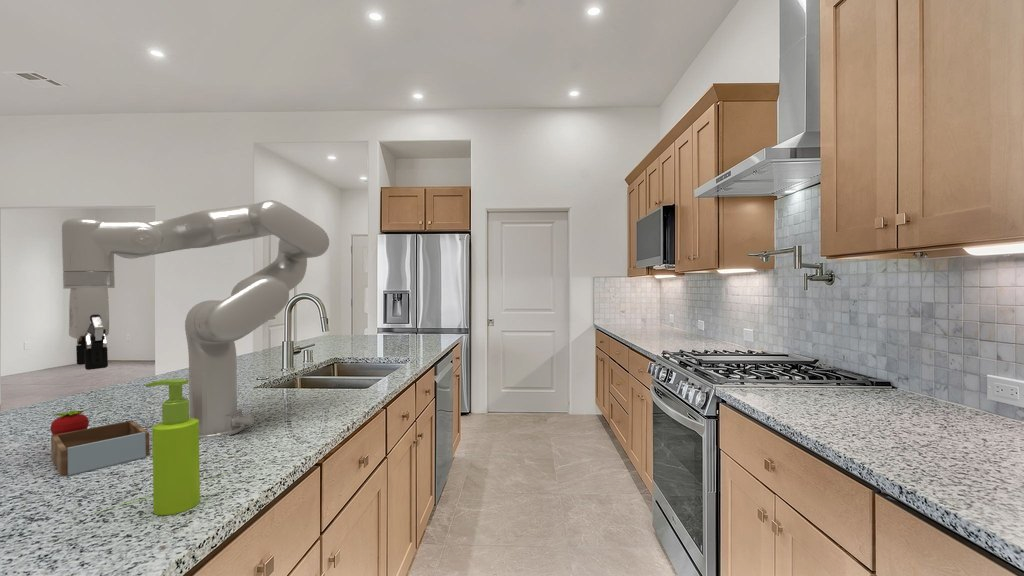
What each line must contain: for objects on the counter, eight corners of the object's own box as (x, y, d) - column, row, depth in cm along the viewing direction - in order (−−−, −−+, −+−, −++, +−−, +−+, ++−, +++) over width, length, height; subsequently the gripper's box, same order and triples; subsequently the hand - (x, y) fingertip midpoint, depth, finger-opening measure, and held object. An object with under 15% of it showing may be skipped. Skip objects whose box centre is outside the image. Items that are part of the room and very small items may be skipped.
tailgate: (67, 477, 81) (66, 447, 81) (145, 458, 90) (145, 431, 90) (67, 478, 80) (67, 448, 80) (146, 459, 89) (145, 432, 89)
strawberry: (47, 458, 92) (46, 409, 92) (54, 448, 98) (53, 402, 98) (86, 451, 95) (86, 404, 95) (91, 442, 101) (90, 398, 101)
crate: (51, 462, 89) (51, 435, 89) (132, 445, 99) (132, 420, 99) (61, 481, 80) (61, 450, 80) (149, 459, 90) (149, 432, 90)
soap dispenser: (163, 498, 73) (161, 376, 73) (207, 496, 74) (206, 375, 74) (136, 517, 67) (134, 384, 67) (185, 514, 68) (182, 383, 68)
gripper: (57, 282, 92) (59, 364, 93) (70, 280, 82) (72, 374, 82) (105, 281, 98) (107, 359, 98) (123, 280, 87) (126, 367, 88)
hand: (92, 366), depth 90 cm, fingers open, 9 cm apart
